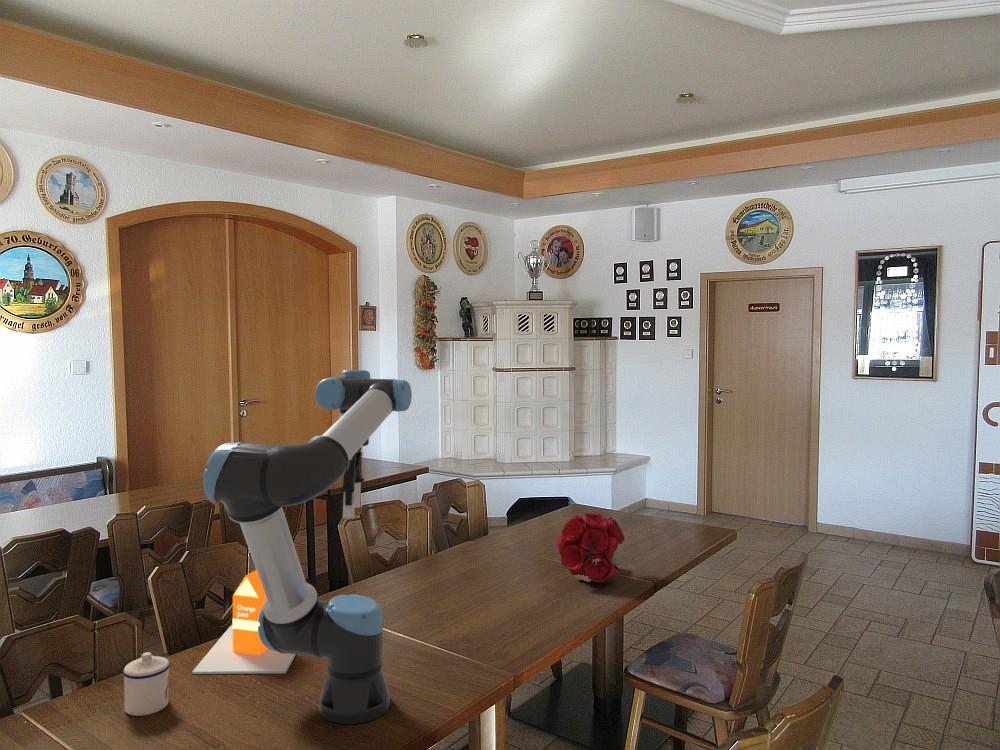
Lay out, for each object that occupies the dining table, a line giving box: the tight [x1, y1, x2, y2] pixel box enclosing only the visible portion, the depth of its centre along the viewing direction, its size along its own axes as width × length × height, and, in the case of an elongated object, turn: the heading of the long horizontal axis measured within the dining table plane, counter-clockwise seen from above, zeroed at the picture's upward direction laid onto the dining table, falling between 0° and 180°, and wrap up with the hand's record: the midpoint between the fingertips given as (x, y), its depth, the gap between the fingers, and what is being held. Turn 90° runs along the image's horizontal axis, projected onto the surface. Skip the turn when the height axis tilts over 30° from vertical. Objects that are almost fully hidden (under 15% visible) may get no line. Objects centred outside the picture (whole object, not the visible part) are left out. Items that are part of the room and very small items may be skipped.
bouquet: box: [556, 512, 625, 584], centre depth 245 cm, size 22×24×30 cm
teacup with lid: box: [122, 651, 171, 717], centre depth 156 cm, size 12×9×12 cm
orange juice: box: [232, 569, 268, 655], centre depth 184 cm, size 8×9×20 cm
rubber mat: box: [191, 624, 296, 675], centre depth 185 cm, size 28×22×1 cm
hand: (351, 512), depth 183 cm, fingers open, 13 cm apart
